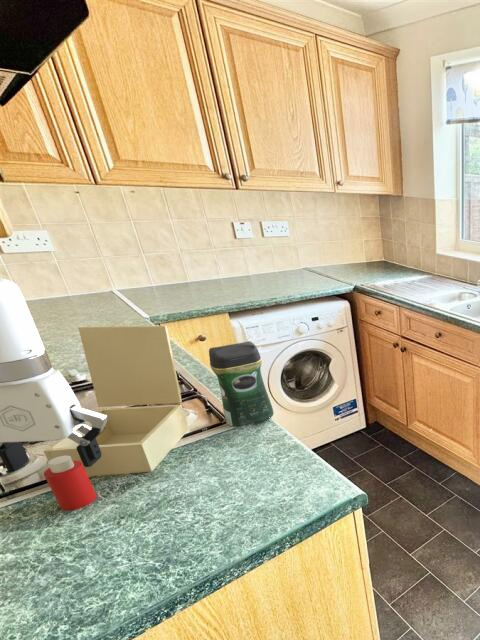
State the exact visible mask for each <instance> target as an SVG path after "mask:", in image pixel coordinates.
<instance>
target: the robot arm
mask: <svg viewBox="0 0 480 640" xmlns="http://www.w3.org/2000/svg"><path fill="white" fill-rule="evenodd" d="M107 419H108V416H107V415H104V414H101V413H98V412H97V411H94V410H91V409H87V408H84V407H82V406H81V404H80V401H79V400H78V398H77V396H76V394H75V393H74V390H73V389H72V387H71V386H70V384H69V382H68V381H67V380H66V378H65V376H64V375H63V374H62V372H60V370H58V369H54V367H53V365H52V362H51V360H50V357H49V355H48V352H47V350H46V348H45V345H44V343H43V341H42V338H41V336H40V333H39V330H38V328H37V326H36V324H35V321H34V318H33V316H32V314H31V312H30V309H29V307H28V304H27V302H26V299H25V298H24V295H23V292H22V290H21V289H20V287H19V285H18V284H16V283H15V282H13V281H12V280H9V279H7V278H3V277H0V459H1V461H2V463H3V464H4V466H5V468H6V470H7V472H15V471H17V470H18V469H20V468H21V467H22V466H24V465H25V464H26V463H28V462H29V461H30V458H29V456H28V454H27V452H26V450H25V448H24V445H23V443H27V442H29V443H30V442H48V441H51V442H52V441H57V440H61V439H65V438H67V437H68V438H69V439H71V440H73V441H75V442H76V443H78V444H80V445H79V446H77V451H78V453H79V456H80V458H81V461H82V463H83V465H84V466H85V467H91V466H92V465H93V464H94V463H95V462H96V461H98V460H99V459H100V458H101V450H100V448H99V445H98V443H97V440H96V438H97V437H98V436H99V434H100V433H101V432H102V431H103V430H104V429H105V425H106V422H107ZM86 421H88V422H90V423H91V424H92V426H91V427H92V428H91V427H89V426H87V425H86V424H85V423H86ZM76 430H78V431H80V432H81V433H83V434H85V436H82V435H81V434H79V433H77V432H76Z"/></svg>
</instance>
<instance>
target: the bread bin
mask: <svg viewBox="0 0 480 640" xmlns="http://www.w3.org/2000/svg"><path fill="white" fill-rule="evenodd" d="M96 412H98V413H101V414H104V415H107V416H108V419H107V422H106V425H105V429H104V430H103V431H102V432H101V433H100V434H99V436H98V437H97V438H96V440H97V443H98V445H99V448H100V450H101V458H100V459H99V460H98V461H96V462H95V463H94V464H93V465H92V466H91V467H85V466H84V465H83V466H84V469H85V471H86V473H87V475H88V477H89V478H90V477H100V476H101V477H102V476H111V475H125V474H139V473H150V472H151V473H152V472H153V471H154V470H155V469H156V468H157V467H158V465H159V464H160V463H161V462H162V461H163V460H164V459H165V457H166V456H168V454H169V453H170V452H171V450H173V448H174V447H175V446H176V445H177V444H178V442H179V441H180V440H181V439H182V438H183V437H184V435H186V434H187V432H188V431H189V430H190V426H189V423H188V420H187V417H186V413H185V411H184V406H183V404H164V405H143V406H128V407H127V406H123V407H101V408H99V409H98V410H97V411H96ZM85 424H86V425H87V426H89V427H91V426H92V424H91V423H90V422H88V421H86V423H85ZM91 428H92V427H91ZM76 432H77V433H79V434H81V435H82V436H85V434H83V433H81V432H80V431H78V430H76ZM79 445H80V444H78V443H76V442H75V441H73V440H71V439H69V438H68V437H67V438H65V439H61V440H55V441H54V442H53V443H52V444H51V445H49V446H48V447H47V448H45V449H43V453H44V456H45V458H46V459H47V462H49V461H50V460H52V459H54V458H56V457H60V456H70V457H71V459H72V461H73V460H76V461H80V462H82V461H81V458H80V456H79V453H78V451H77V446H79ZM82 464H83V463H82Z"/></svg>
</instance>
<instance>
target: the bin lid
mask: <svg viewBox="0 0 480 640" xmlns="http://www.w3.org/2000/svg"><path fill="white" fill-rule="evenodd" d="M77 329H78V333H79V336H80V340H81V344H82V348H83V352H84V356H85V360H86V363H87V367H88V371H89V375H90V379H91V383H92V387H93V392H94V395H95V400H96V402H97V403H96V404H97V407H98V408H110V407H127V406H128V407H131V406H152V405H173V404H181V403H183V400H182V394H181V390H180V385H179V384H180V383H179V380H178V379H179V378H178V374H177V369H176V365H175V360H174V354H173V349H172V345H171V339H170V335H169V329H168V326H167V325H132V326H131V325H126V326H125V325H123V326H122V325H121V326H119V325H118V326H115V325H113V326H78V328H77Z"/></svg>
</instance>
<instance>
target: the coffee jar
mask: <svg viewBox="0 0 480 640" xmlns="http://www.w3.org/2000/svg"><path fill="white" fill-rule="evenodd" d="M208 356H209V366H210V369H211V371H212V372H213V373H214V374H215V376H216V377H217V382H218V385H219V389H220V394H221V395H220V396H221V402H222V410H223V415H224V419H225V422H226V424H227V425H229V426H230V427H234V428H235V427H236V428H238V427H244V426H248V425H252V424H254V425H256V424H259V423H263V422H266V421H268V420H270V419H271V418H272V417H273V416H274V414H275V412H274V408H273V405H272V403H271V400H270V397H269V394H268V392H267V388H266V386H265V385H266V384H265V383H264V380H263V376H262V371H261V367H262V357H261V354H260V352H259V349H258V347H257V345H256V344H255V343H253V342H252V341H251V340H248V341H244V342H237V343H231V344H226V345H222V346H221V345H219V346H215V347H210V348H209V349H208ZM269 417H270V418H269Z"/></svg>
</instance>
